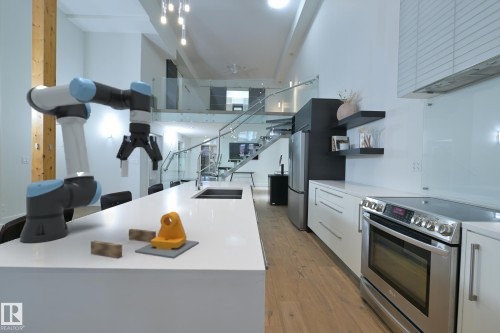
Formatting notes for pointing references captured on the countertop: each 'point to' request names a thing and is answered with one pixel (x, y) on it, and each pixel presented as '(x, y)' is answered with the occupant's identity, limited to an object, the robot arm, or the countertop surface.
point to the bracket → (170, 232)
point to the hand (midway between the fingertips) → (138, 178)
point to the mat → (167, 253)
